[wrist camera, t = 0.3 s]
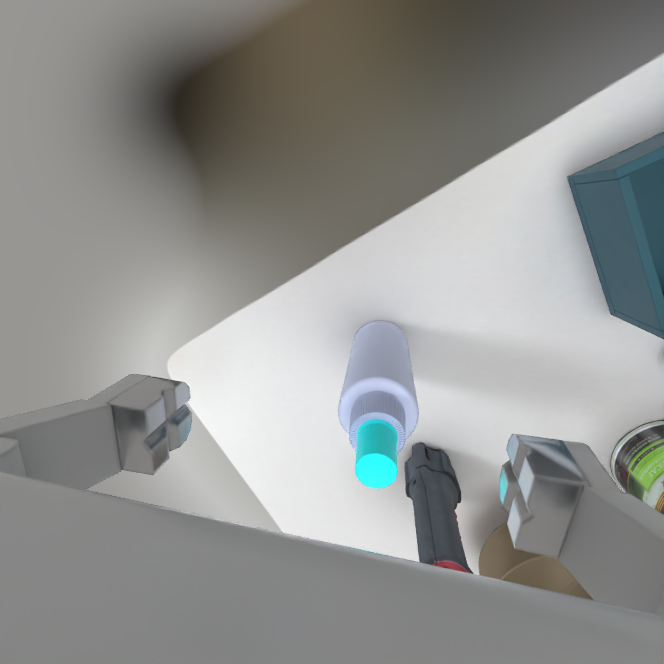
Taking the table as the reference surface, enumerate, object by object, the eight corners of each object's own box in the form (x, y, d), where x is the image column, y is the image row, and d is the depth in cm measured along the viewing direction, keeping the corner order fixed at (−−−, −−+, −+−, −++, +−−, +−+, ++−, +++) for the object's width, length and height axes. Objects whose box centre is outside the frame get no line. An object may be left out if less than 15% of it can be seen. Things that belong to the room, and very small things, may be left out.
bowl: (598, 540, 47) (651, 622, 38) (511, 585, 51) (539, 670, 42) (533, 473, 46) (572, 541, 36) (448, 525, 50) (463, 599, 40)
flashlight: (448, 508, 49) (499, 746, 27) (391, 486, 49) (396, 706, 27) (476, 460, 46) (556, 683, 25) (415, 437, 46) (442, 638, 25)
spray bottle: (413, 362, 44) (439, 504, 23) (362, 375, 45) (342, 519, 24) (399, 313, 42) (413, 416, 21) (346, 327, 43) (311, 437, 22)
